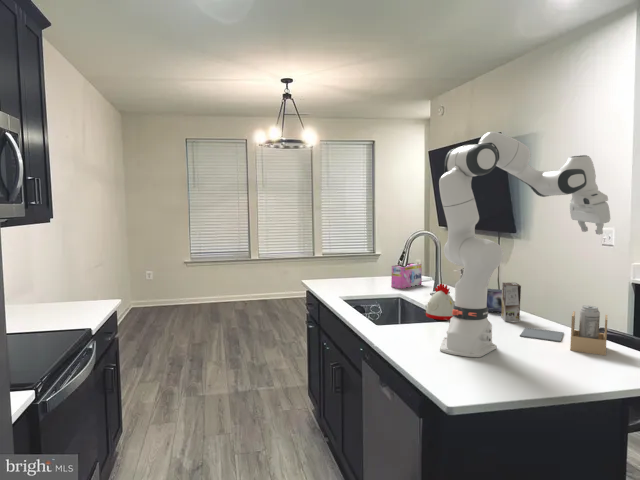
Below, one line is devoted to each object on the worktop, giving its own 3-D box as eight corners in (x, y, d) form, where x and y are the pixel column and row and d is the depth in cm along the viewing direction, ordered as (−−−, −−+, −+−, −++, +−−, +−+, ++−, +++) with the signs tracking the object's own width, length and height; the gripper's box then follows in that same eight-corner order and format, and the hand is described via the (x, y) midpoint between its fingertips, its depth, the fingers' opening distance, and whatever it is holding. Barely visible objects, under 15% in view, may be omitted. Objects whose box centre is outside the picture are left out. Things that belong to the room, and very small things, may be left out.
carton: (605, 355, 157) (607, 320, 156) (570, 350, 162) (571, 316, 162) (605, 347, 166) (607, 314, 165) (572, 342, 171) (573, 310, 171)
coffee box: (520, 322, 202) (521, 285, 200) (504, 321, 203) (505, 285, 202) (515, 317, 210) (516, 282, 209) (500, 316, 212) (501, 281, 211)
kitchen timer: (441, 321, 203) (442, 287, 202) (419, 315, 215) (420, 283, 214) (463, 317, 211) (464, 284, 210) (440, 311, 222) (441, 280, 221)
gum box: (412, 283, 306) (413, 262, 305) (423, 284, 300) (423, 263, 299) (390, 287, 289) (391, 265, 288) (401, 289, 283) (401, 267, 282)
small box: (482, 312, 221) (483, 290, 221) (483, 309, 227) (484, 288, 227) (506, 314, 217) (507, 292, 217) (506, 311, 223) (507, 289, 223)
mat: (560, 342, 172) (560, 340, 172) (519, 336, 180) (520, 335, 179) (563, 333, 184) (563, 332, 184) (525, 328, 191) (525, 327, 191)
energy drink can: (594, 347, 166) (596, 305, 165) (600, 352, 161) (602, 309, 159) (576, 345, 168) (577, 304, 167) (581, 350, 162) (583, 308, 161)
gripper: (563, 198, 186) (569, 231, 187) (593, 200, 165) (599, 237, 167) (578, 194, 185) (584, 228, 187) (610, 196, 165) (617, 233, 167)
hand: (592, 232), depth 177 cm, fingers open, 8 cm apart
